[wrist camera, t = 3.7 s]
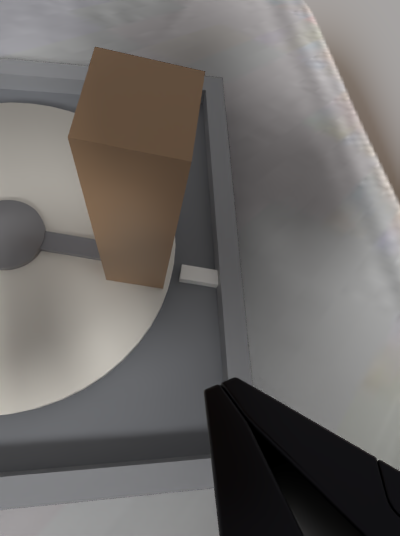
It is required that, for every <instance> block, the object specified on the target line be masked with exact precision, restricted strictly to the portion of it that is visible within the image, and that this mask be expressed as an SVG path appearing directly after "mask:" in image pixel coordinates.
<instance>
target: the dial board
mask: <svg viewBox="0 0 400 536" xmlns="http://www.w3.org/2000/svg"><path fill="white" fill-rule="evenodd" d="M88 68H89V66H85V65H74V64H62V63H51V62H39V61H28V60H16V59H5V58H0V103H11V102H12V103H31V104H38V105H45V106H51V107H55V108H59V109H63V110H67V111H71V112H73V113H75V111H76V108H77V104H78V101H79V98H80V95H81V91H82V88H83V85H84V81H85V78H86V75H87V71H88ZM175 244H176V245H175V258H174V266H173V271H172V275H171V279H170V284H169V287H168V291H167V293H166V296H165V299H164V301H163V304H162V307H161V309H160V311H159V313H158V315H157V317H156V318H155V320H154V322H153V324H152V326H151V328H150V329H149V330H148V332H147V333H146V334H145V336H144V337H143V339H142V340H141V341H140V343H139V344H138V345H137V346H136V347H135V349H134V350H133V351H132V352H131V353H130V354H129V355H128V356H127V357H126V358H125V359H124V360H123V361H122V362H121V363H120V364H119V365H118V366H116V367H115V368H114V369H113V370H112V371H110V372H109V373H108V374H107V375H106V376H104V377H103V378H101V379H100V380H98V381H96V382H95V383H93V384H92V385H90V386H89V387H87V388H86V389H84V390H82V391H80V392H78V393H76V394H74V395H72V396H70V397H68V398H65V399H63V400H61V401H58V402H55V403H52V404H49V405H46V406H44V407H41V408H37V409H33V410H28V411H23V412H19V413H14V414H6V415H0V510H5V509H15V508H25V507H34V506H44V505H54V504H64V503H73V502H83V501H93V500H103V499H112V498H122V497H132V496H142V495H151V494H161V493H171V492H181V491H190V490H200V489H210V488H214V482H213V473H212V464H211V455H210V446H209V437H208V428H207V419H206V410H205V401H204V390H205V389H207V388H209V387H212V386H214V385H217V384H219V385H220V384H221V383H222V382H224V381H226V380H229V379H231V378H234V377H236V378H239V379H241V380H243V381H244V382H246V383H248V384H249V385H251V386H252V375H251V365H250V355H249V345H248V335H247V324H246V314H245V304H244V294H243V283H242V273H241V263H240V253H239V243H238V232H237V222H236V212H235V202H234V191H233V181H232V171H231V161H230V151H229V140H228V130H227V120H226V110H225V99H224V89H223V79H222V77H210V76H204V83H203V89H202V96H201V103H200V109H199V116H198V122H197V129H196V136H195V142H194V149H193V156H192V162H191V167H190V171H189V176H188V180H187V184H186V189H185V193H184V198H183V202H182V207H181V211H180V216H179V220H178V224H177V229H176V233H175Z"/></svg>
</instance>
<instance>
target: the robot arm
mask: <svg viewBox="0 0 400 536" xmlns="http://www.w3.org/2000/svg"><path fill="white" fill-rule="evenodd" d="M204 401H205V410H206V419H207V428H208V437H209V446H210V455H211V464H212V473H213V482H214V490H215V499H216V508H217V517H218V526H219V535H220V536H400V471H398V470H397V469H395V468H393V467H391V466H390V465H388V464H386V463H385V462H383V461H381V460H378V461H377V459H376V457H374V456H372V455H370V454H369V453H367V452H365V451H364V450H362V449H360V448H358V447H357V446H355V445H353V444H351V443H350V442H348V441H346V440H345V439H343V438H341V437H339V436H338V435H336V434H334V433H332V432H331V431H329V430H327V429H326V428H324V427H322V426H320V425H319V424H317V423H315V422H313V421H312V420H310V419H308V418H307V417H305V416H303V415H301V414H300V413H298V412H296V411H294V410H293V409H291V408H289V407H288V406H286V405H284V404H282V403H281V402H279V401H277V400H275V399H274V398H272V397H270V396H269V395H267V394H265V393H263V392H262V391H260V390H258V389H256V388H255V387H253V386H251V385H249V384H248V383H246V382H244V381H243V380H241V379H239V378H236V377H234V378H231V379H229V380H226V381H224V382H222V383H221V384H220V385H219V384H217V385H214V386H212V387H209V388H207V389H205V390H204Z"/></svg>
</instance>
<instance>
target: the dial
mask: <svg viewBox="0 0 400 536" xmlns="http://www.w3.org/2000/svg"><path fill="white" fill-rule="evenodd" d="M204 76H205V71H201V70H196V69H192V68H187V67H183V66H178V65H174V64H170V63H165V62H161V61H156V60H152V59H147V58H143V57H138V56H134V55H130V54H125V53H121V52H116V51H112V50H107V49H103V48H98V47H95V48H94V52H93V55H92V58H91V61H90V65H89V68H88V71H87V75H86V78H85V81H84V85H83V88H82V91H81V95H80V98H79V101H78V104H77V108H76V111H75V113H73V112H71V111H67V110H63V109H59V108H55V107H51V106H45V105H38V104H31V103H12V102H11V103H0V415H6V414H14V413H19V412H23V411H28V410H33V409H37V408H41V407H44V406H46V405H49V404H52V403H55V402H58V401H61V400H63V399H65V398H68V397H70V396H72V395H74V394H76V393H78V392H80V391H82V390H84V389H86V388H87V387H89V386H90V385H92V384H93V383H95V382H96V381H98V380H100V379H101V378H103V377H104V376H106V375H107V374H108V373H109V372H110V371H112V370H113V369H114V368H115V367H116V366H118V365H119V364H120V363H121V362H122V361H123V360H124V359H125V358H126V357H127V356H128V355H129V354H130V353H131V352H132V351H133V350H134V349H135V347H136V346H137V345H138V344H139V343H140V341H141V340H142V339H143V337H144V336H145V334H146V333H147V332H148V330H149V329H150V328H151V326H152V324H153V322H154V320H155V318H156V317H157V315H158V313H159V311H160V309H161V307H162V304H163V301H164V299H165V296H166V293H167V291H168V287H169V284H170V279H171V275H172V271H173V266H174V258H175V245H176V244H175V233H176V229H177V224H178V220H179V216H180V211H181V207H182V202H183V198H184V193H185V189H186V184H187V180H188V176H189V171H190V167H191V162H192V156H193V149H194V142H195V136H196V129H197V122H198V116H199V109H200V103H201V96H202V89H203V83H204Z"/></svg>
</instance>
